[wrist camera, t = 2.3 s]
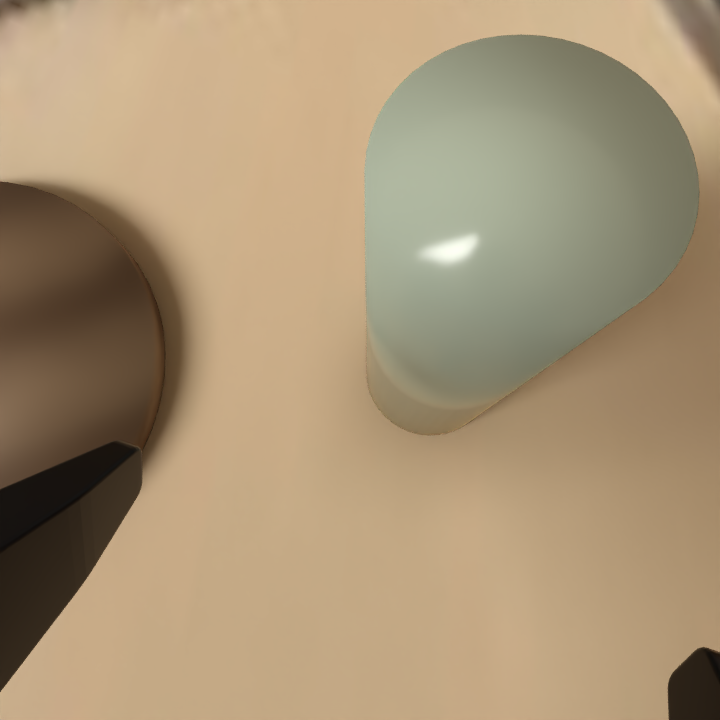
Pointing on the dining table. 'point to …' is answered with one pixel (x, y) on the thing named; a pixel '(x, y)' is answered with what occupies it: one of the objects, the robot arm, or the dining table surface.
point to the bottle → (512, 219)
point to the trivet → (70, 336)
